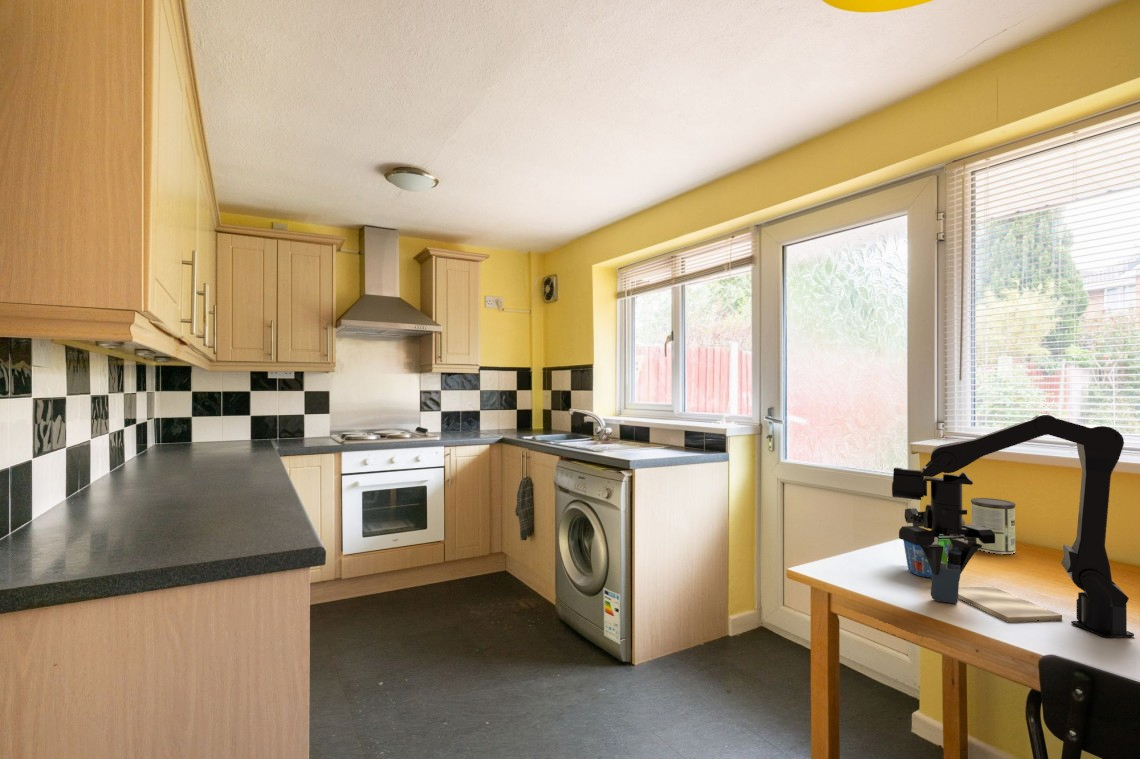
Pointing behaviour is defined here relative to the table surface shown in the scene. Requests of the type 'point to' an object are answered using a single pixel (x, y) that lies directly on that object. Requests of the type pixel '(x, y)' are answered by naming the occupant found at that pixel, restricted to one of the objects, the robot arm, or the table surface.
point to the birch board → (1005, 605)
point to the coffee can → (995, 523)
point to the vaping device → (947, 578)
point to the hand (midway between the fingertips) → (946, 574)
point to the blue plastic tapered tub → (923, 557)
